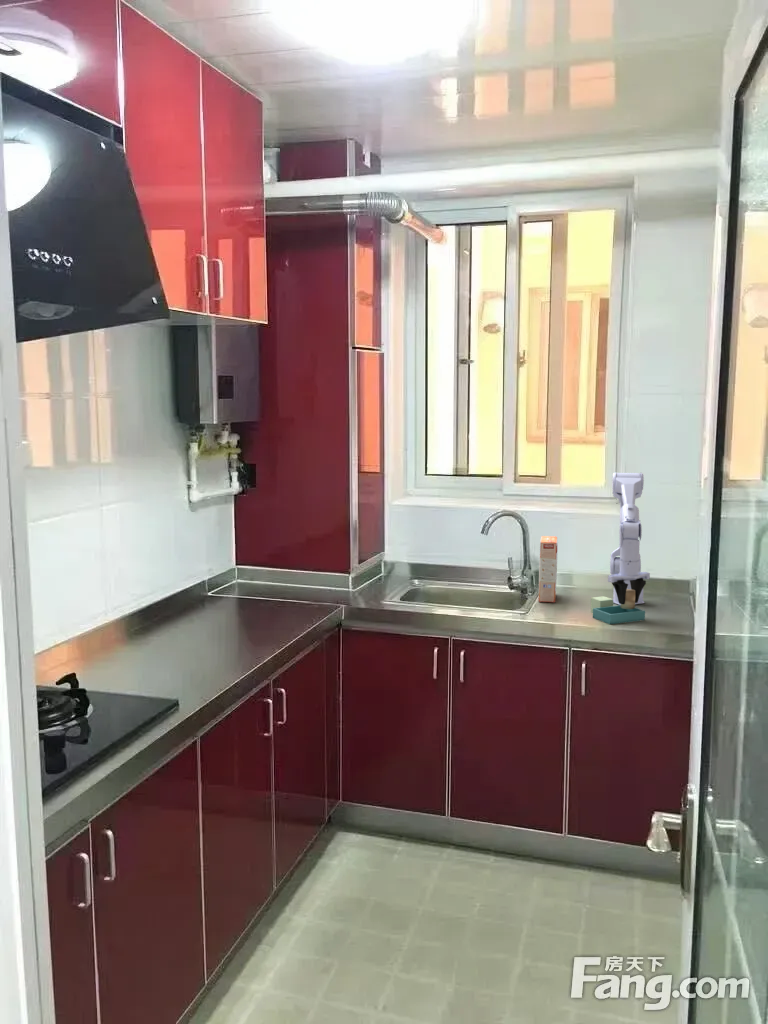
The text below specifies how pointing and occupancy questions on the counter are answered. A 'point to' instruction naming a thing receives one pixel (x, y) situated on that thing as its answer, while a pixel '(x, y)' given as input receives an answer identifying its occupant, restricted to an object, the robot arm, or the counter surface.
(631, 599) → the cork cylinder
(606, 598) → the sage cube
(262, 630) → the counter surface
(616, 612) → the bin
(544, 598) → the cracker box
